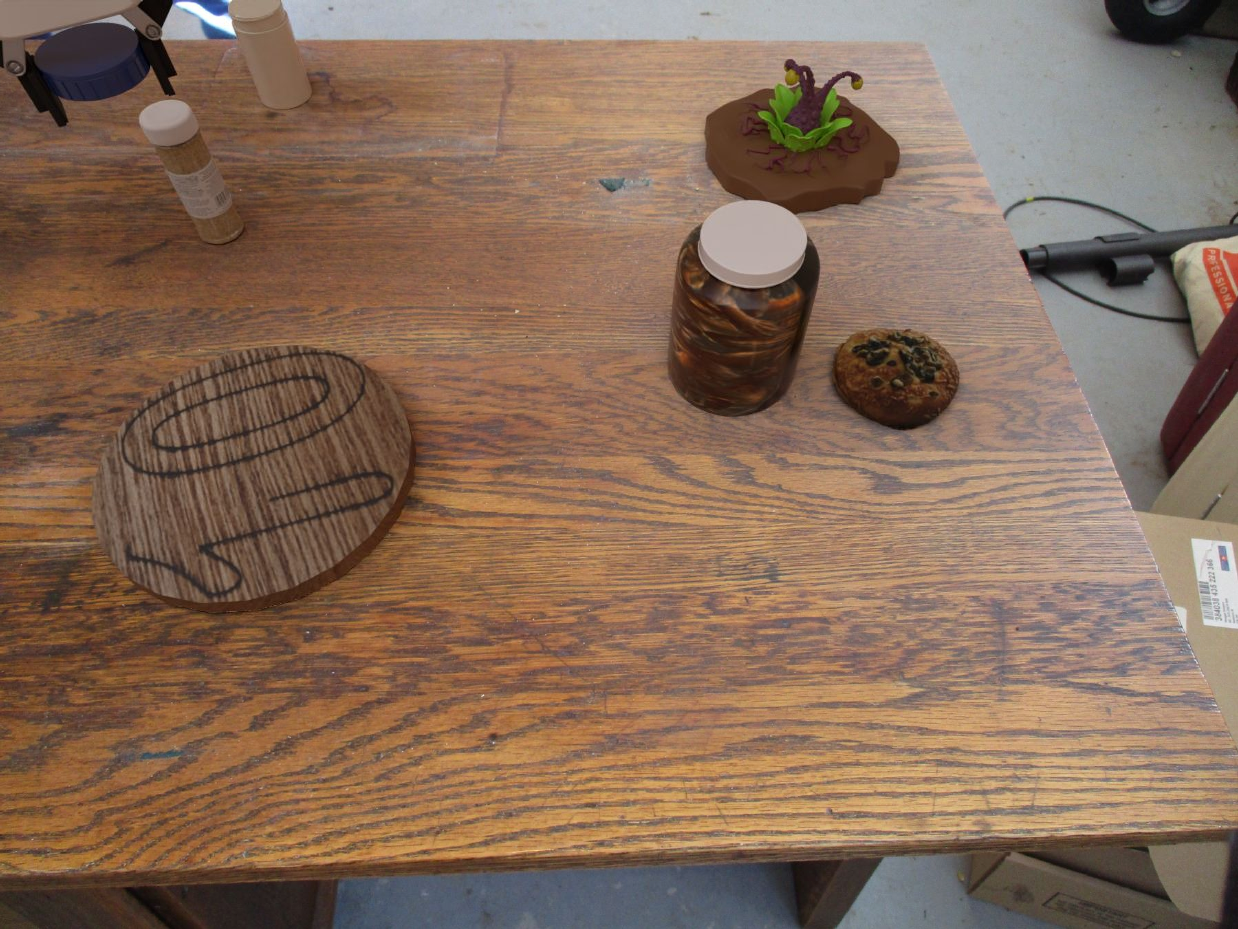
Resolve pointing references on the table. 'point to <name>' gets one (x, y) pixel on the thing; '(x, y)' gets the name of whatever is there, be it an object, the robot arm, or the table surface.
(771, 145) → the plant
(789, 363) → the jar
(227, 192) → the spice bottle
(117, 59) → the lid
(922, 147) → the table surface
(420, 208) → the table surface
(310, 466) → the trivet
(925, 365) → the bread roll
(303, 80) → the beige cylindrical container
